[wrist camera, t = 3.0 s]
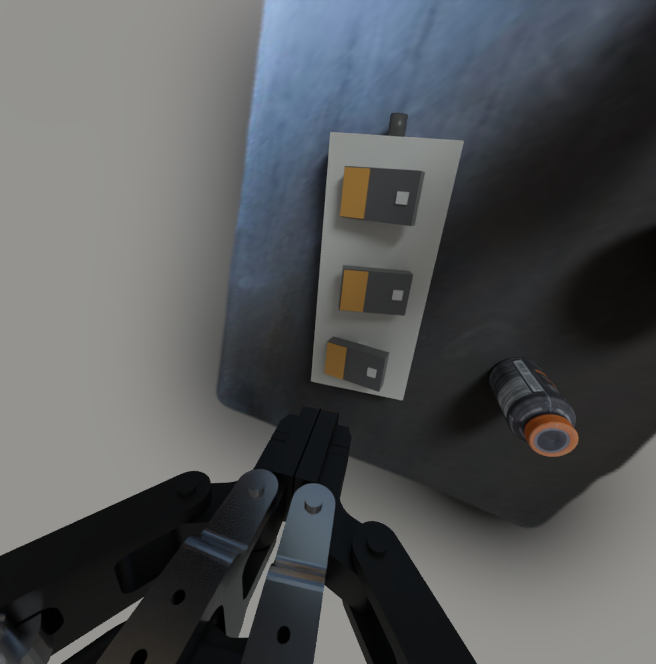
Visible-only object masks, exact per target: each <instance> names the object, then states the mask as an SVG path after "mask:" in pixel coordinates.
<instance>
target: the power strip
mask: <svg viewBox="0 0 656 664" xmlns="http://www.w3.org/2000/svg"><path fill="white" fill-rule="evenodd" d="M407 118H408V115H407V114H403V113H392V114H391V116H390V122H389V129H388V136H383V135H367V134H352V133H337V132H330V144H329V156H328V169H327V182H326V195H325V208H324V220H323V233H322V246H321V259H320V272H319V284H318V297H317V310H316V323H315V336H314V348H313V361H312V374H311V382H316V383H321V384H326V385H331V386H335V387H340V388H345V389H350V390H355V391H359V392H364V393H369V394H374V395H379V396H383V397H388V398H393V399H398V400H403V397H404V393H405V388H406V384H407V380H408V376H409V371H410V367H411V363H412V359H413V355H414V350H415V346H416V342H417V338H418V333H419V329H420V325H421V321H422V316H423V312H424V308H425V304H426V300H427V295H428V291H429V287H430V283H431V278H432V274H433V270H434V266H435V261H436V257H437V253H438V249H439V244H440V240H441V236H442V232H443V228H444V223H445V219H446V215H447V211H448V206H449V202H450V198H451V194H452V189H453V185H454V181H455V177H456V173H457V168H458V164H459V160H460V156H461V151H462V147H463V143H464V141H460V140H444V139H429V138H414V137H404V136H405V130H406V124H407ZM345 166H355V167H371V168H387V169H402V170H418V171H423V172H425V175H424V181H423V186H422V191H421V196H420V201H419V206H418V211H417V216H416V221H415V225H414V226H406V225H398V224H390V223H383V222H375V221H367V220H360V219H352V218H344V217H340V209H341V199H342V188H343V178H344V168H345ZM343 265H348V266H360V267H371V268H382V269H393V270H404V271H410V272H411V273H412V274H413V279H412V283H411V288H410V293H409V298H408V303H407V307H406V312H405V316H402V315H390V314H378V313H366V312H354V311H342V310H339V307H338V303H339V294H340V285H341V276H342V266H343ZM333 336H334V337H338V338H341V339H344V340H348V341H351V342H355V343H358V344H362V345H365V346H369V347H372V348H375V349H379V350H382V351H386V352H389V357H388V363H387V368H386V373H385V378H384V383H383V386H382V388H381V389H380V391H379V392H378V391H375V390H372V389H369V388H366V387H363V386H360V385H357V384H354V383H351V382H348V381H346V380H342V379H339V378H336V377H333V376H330V375H327V374H324V371H325V361H326V351H327V341H328V340H329V339H331V338H332V337H333Z"/></svg>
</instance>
